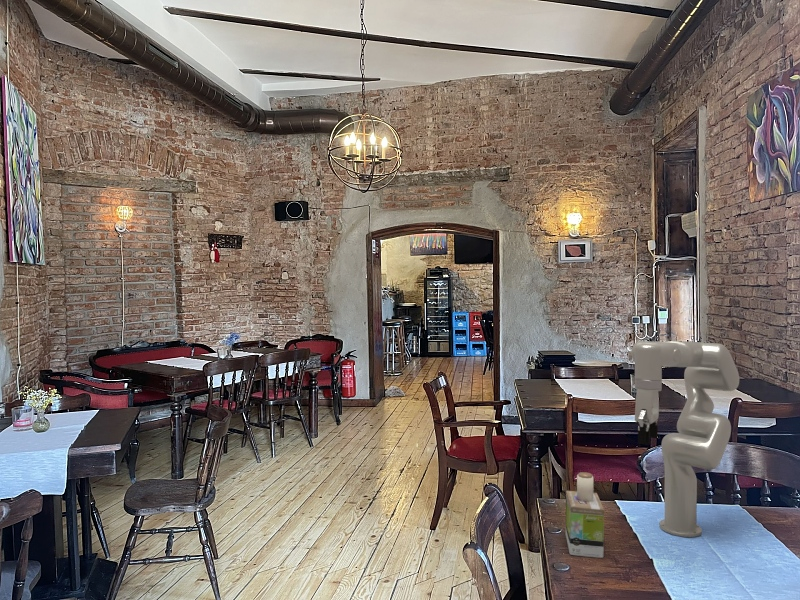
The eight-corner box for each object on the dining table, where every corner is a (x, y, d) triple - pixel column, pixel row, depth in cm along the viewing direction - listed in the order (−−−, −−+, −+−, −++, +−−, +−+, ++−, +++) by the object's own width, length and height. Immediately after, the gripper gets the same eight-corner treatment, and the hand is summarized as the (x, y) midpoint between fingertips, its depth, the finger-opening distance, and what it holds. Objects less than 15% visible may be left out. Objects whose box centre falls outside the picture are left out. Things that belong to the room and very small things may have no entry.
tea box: (604, 559, 165) (604, 509, 165) (569, 555, 167) (569, 506, 167) (597, 537, 179) (597, 491, 179) (564, 534, 181) (564, 489, 181)
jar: (580, 494, 176) (580, 470, 176) (595, 498, 173) (595, 473, 173) (574, 499, 173) (574, 474, 172) (590, 502, 170) (590, 477, 170)
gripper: (642, 380, 179) (642, 433, 179) (627, 387, 166) (627, 444, 166) (667, 382, 175) (667, 436, 175) (654, 389, 161) (654, 449, 161)
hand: (647, 440), depth 170 cm, fingers open, 9 cm apart
